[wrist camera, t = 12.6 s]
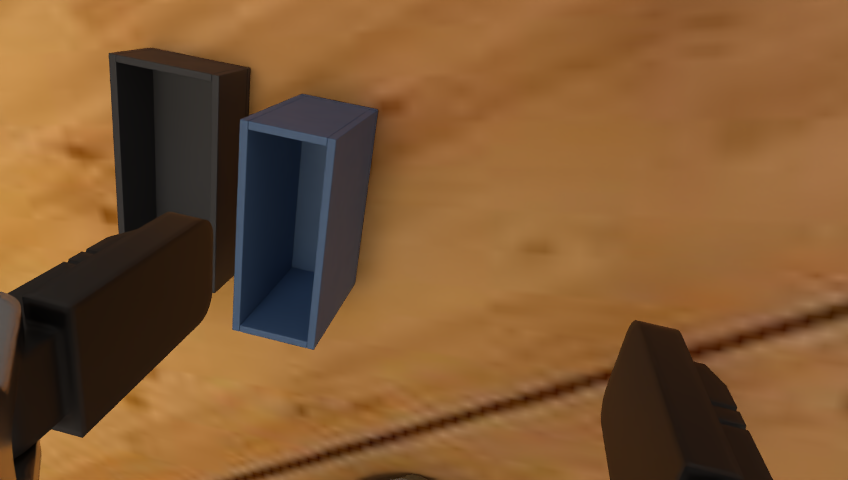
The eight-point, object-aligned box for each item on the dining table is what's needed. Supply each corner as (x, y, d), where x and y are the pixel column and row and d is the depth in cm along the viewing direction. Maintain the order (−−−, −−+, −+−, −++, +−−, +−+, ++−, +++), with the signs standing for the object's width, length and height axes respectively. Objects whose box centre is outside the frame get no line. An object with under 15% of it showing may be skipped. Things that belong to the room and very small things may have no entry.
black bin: (150, 47, 41) (108, 52, 37) (250, 67, 41) (219, 75, 37) (155, 247, 48) (120, 270, 44) (242, 267, 47) (214, 293, 43)
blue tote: (301, 93, 41) (239, 119, 32) (378, 109, 40) (336, 139, 32) (288, 268, 46) (231, 329, 38) (355, 284, 46) (313, 350, 37)
